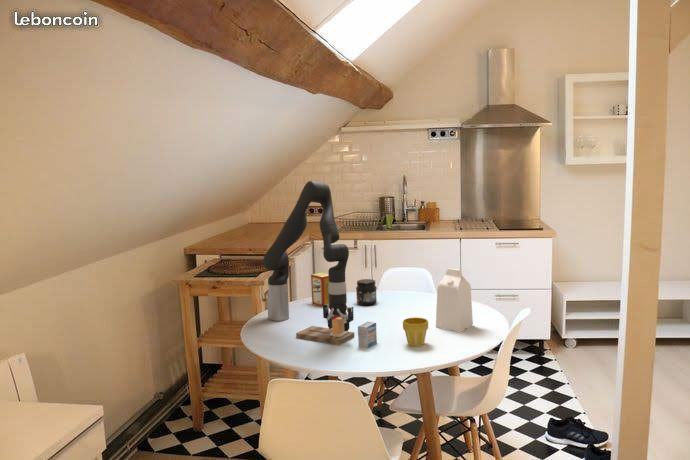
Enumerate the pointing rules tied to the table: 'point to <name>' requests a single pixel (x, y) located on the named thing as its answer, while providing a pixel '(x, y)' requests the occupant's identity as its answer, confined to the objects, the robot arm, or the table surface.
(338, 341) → the fader board
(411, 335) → the plant pot
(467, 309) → the milk
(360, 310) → the table surface
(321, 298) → the baking soda box
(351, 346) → the table surface
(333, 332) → the fader tab
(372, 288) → the supplement container
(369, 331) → the medicine box
